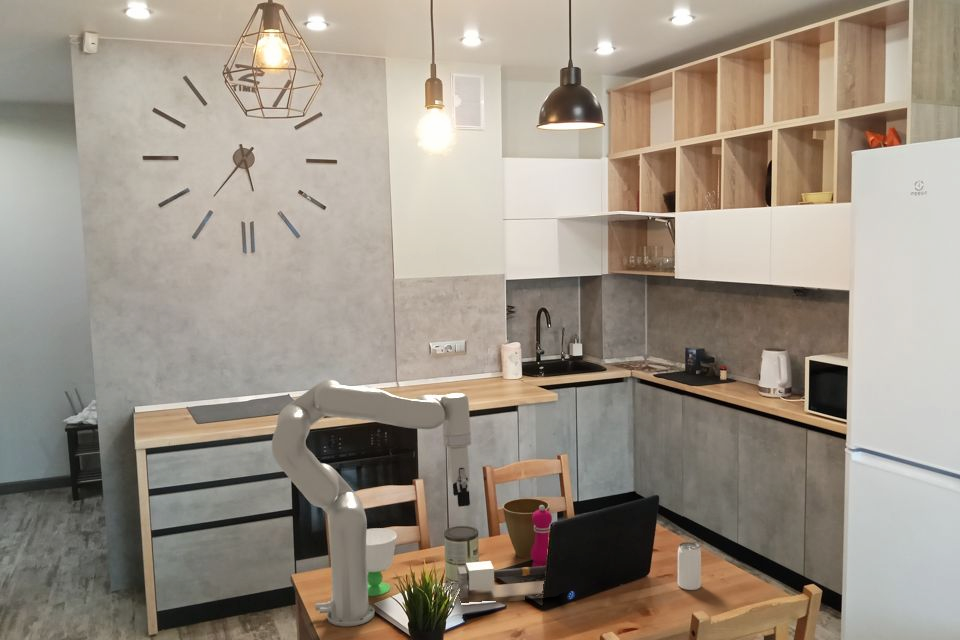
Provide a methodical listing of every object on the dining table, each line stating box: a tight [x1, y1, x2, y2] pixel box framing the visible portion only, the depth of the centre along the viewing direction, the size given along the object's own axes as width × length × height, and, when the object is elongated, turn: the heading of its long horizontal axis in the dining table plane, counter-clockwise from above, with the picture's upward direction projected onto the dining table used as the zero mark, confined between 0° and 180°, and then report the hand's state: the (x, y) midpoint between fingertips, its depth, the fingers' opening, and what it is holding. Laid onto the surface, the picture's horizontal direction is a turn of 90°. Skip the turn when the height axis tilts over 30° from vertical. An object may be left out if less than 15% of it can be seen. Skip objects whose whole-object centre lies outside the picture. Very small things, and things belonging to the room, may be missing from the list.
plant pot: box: [502, 497, 550, 559], centre depth 256 cm, size 15×15×16 cm
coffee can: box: [443, 525, 480, 585], centre depth 239 cm, size 10×10×14 cm
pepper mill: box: [531, 505, 553, 567], centre depth 244 cm, size 7×7×20 cm
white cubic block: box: [466, 560, 495, 590], centre depth 225 cm, size 7×6×6 cm
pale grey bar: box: [457, 566, 546, 604], centre depth 226 cm, size 28×8×8 cm, turn 100°
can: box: [677, 541, 702, 591], centre depth 230 cm, size 6×6×12 cm
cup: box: [366, 527, 398, 597], centre depth 232 cm, size 14×14×16 cm
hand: (461, 500), depth 220 cm, fingers open, 9 cm apart
